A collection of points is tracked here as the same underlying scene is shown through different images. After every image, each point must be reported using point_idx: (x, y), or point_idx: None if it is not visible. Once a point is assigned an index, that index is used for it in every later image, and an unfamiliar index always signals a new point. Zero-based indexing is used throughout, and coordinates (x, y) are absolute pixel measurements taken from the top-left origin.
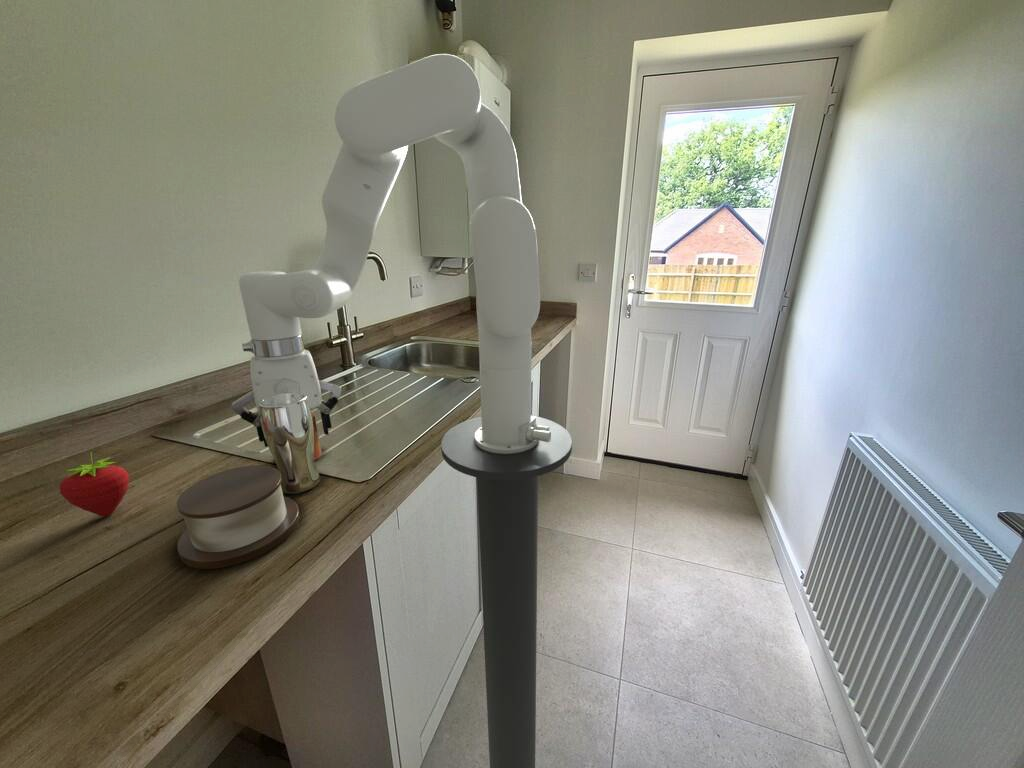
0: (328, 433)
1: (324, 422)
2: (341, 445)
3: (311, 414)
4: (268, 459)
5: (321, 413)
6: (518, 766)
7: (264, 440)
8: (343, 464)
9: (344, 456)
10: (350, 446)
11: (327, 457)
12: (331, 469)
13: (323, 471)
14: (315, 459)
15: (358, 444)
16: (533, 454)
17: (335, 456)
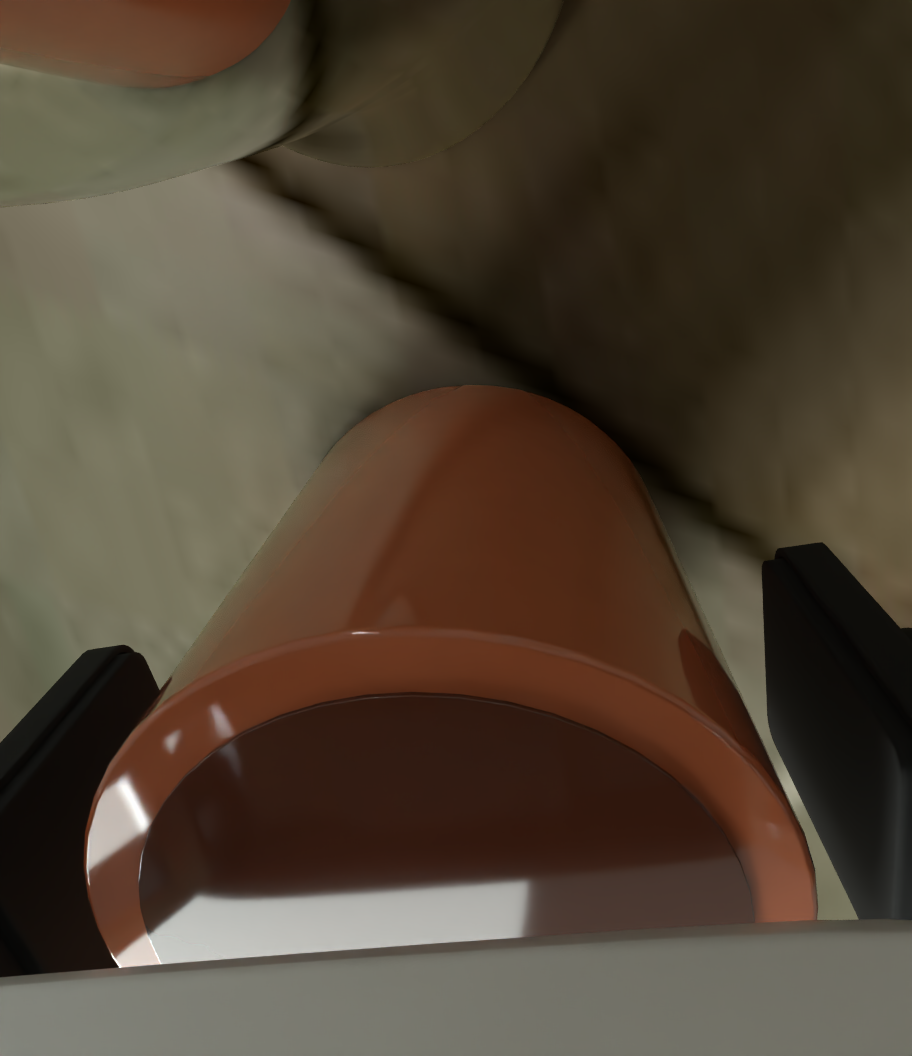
0: (88, 652)
1: (10, 761)
2: (167, 664)
3: (155, 954)
4: (756, 609)
5: (18, 950)
6: None
7: (848, 587)
8: (27, 281)
9: (73, 450)
10: (82, 623)
11: (229, 480)
12: (115, 204)
13: (186, 183)
14: (323, 459)
15: (23, 638)
16: None
17: (159, 477)
